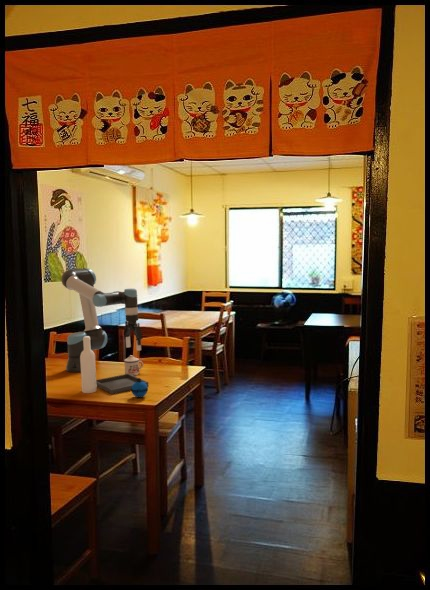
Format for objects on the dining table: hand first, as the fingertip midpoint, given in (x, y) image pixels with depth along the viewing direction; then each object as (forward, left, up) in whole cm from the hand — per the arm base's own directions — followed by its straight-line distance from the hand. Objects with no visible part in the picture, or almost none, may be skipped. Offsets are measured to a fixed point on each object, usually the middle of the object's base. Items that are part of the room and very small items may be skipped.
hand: (133, 348), depth 304 cm
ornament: (+44, -20, -16) cm, 51 cm away
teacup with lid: (0, 0, -16) cm, 16 cm away
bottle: (+16, -36, -16) cm, 42 cm away
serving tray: (+18, -18, -16) cm, 30 cm away
